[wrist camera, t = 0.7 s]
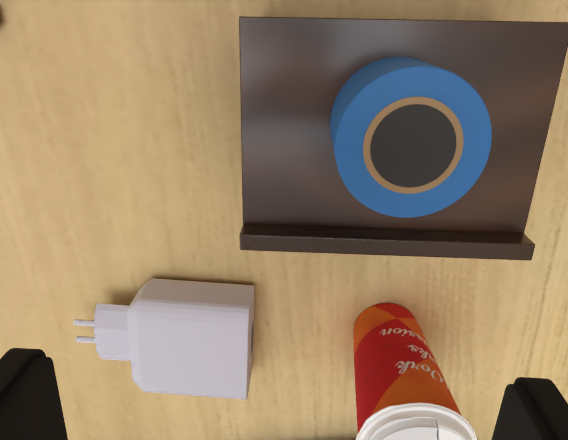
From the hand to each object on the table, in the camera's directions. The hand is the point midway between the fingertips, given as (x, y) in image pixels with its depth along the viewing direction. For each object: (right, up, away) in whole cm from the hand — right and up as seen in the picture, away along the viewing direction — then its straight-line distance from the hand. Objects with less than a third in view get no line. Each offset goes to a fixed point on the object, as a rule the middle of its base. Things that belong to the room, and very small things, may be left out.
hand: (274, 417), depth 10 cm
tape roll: (+6, +9, +15) cm, 19 cm away
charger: (-10, -5, +33) cm, 34 cm away
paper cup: (+9, -5, +32) cm, 34 cm away
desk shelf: (+6, +12, +25) cm, 28 cm away
